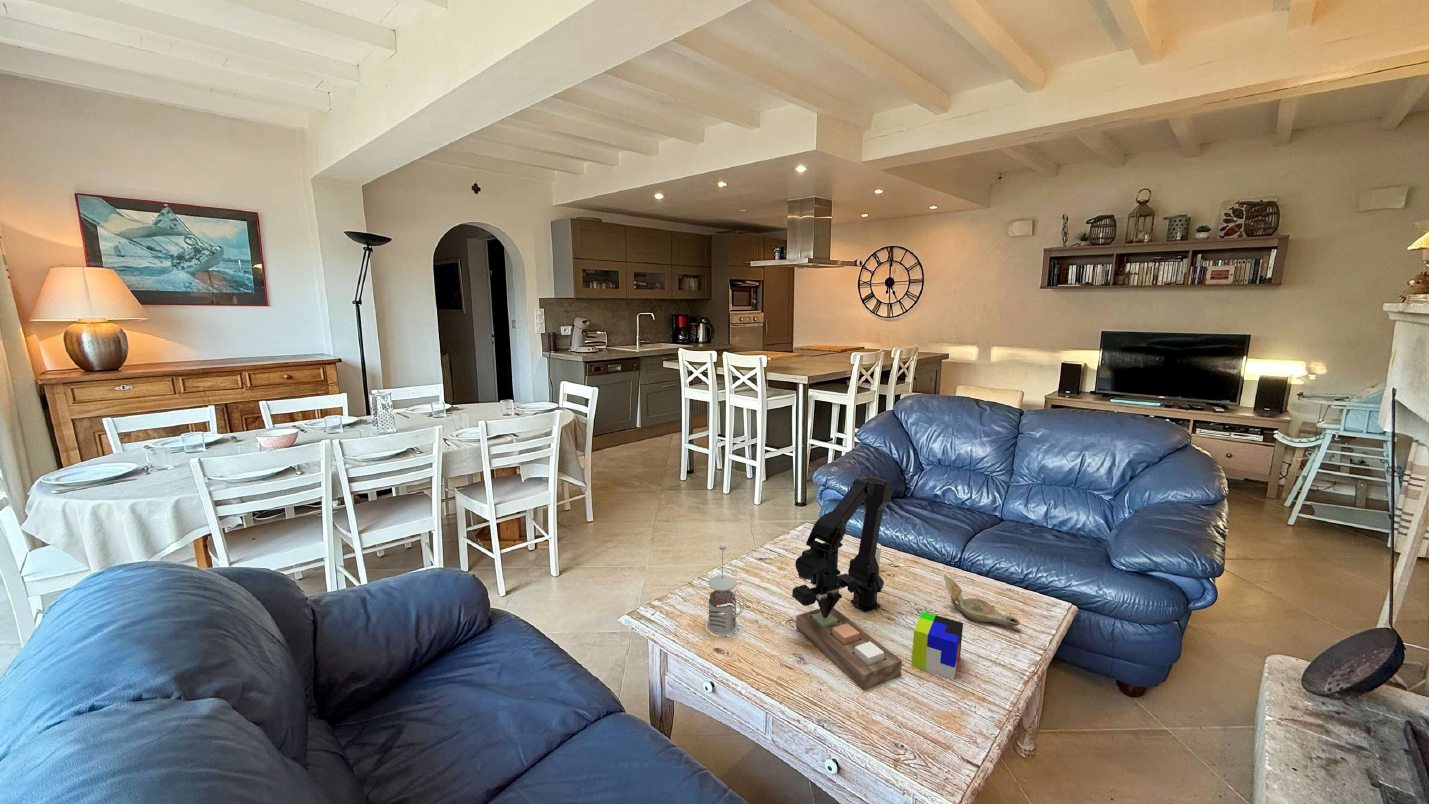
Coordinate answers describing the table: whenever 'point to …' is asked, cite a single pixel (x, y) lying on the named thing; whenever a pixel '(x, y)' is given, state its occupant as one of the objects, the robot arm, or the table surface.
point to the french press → (721, 596)
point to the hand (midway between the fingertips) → (824, 617)
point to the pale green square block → (824, 619)
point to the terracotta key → (845, 634)
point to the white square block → (869, 653)
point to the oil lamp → (977, 607)
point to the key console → (849, 650)
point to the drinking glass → (878, 553)
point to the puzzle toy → (937, 644)
